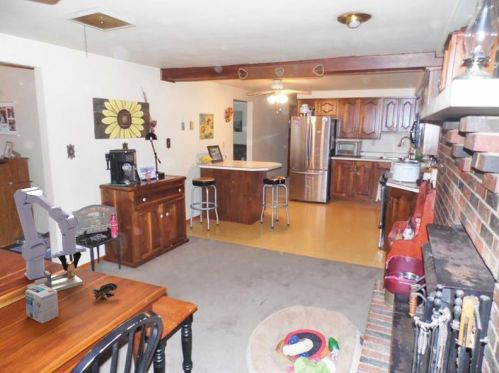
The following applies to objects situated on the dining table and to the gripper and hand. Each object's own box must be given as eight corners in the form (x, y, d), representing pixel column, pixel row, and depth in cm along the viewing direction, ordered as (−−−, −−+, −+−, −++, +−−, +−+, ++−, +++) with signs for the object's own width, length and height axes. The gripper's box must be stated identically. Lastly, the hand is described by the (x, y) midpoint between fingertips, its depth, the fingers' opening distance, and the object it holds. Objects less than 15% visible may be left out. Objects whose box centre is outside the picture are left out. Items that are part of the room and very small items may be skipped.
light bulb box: (26, 316, 133) (24, 290, 131) (43, 308, 139) (41, 283, 137) (42, 324, 128) (40, 297, 126) (59, 315, 134) (58, 290, 132)
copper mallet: (34, 284, 154) (33, 269, 152) (73, 274, 166) (72, 260, 165) (37, 287, 151) (36, 272, 150) (76, 277, 163) (76, 262, 162)
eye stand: (27, 288, 155) (25, 272, 154) (73, 276, 170) (72, 261, 168) (34, 297, 147) (33, 281, 146) (82, 284, 162) (82, 269, 160)
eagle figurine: (103, 302, 144) (120, 290, 151) (94, 287, 144) (112, 277, 151) (95, 306, 148) (112, 294, 155) (87, 292, 148) (104, 281, 155)
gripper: (55, 247, 152) (56, 275, 154) (88, 240, 163) (89, 267, 165) (49, 243, 157) (51, 271, 159) (82, 237, 167) (83, 263, 170)
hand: (70, 268), depth 162 cm, fingers closed on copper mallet, 4 cm apart
